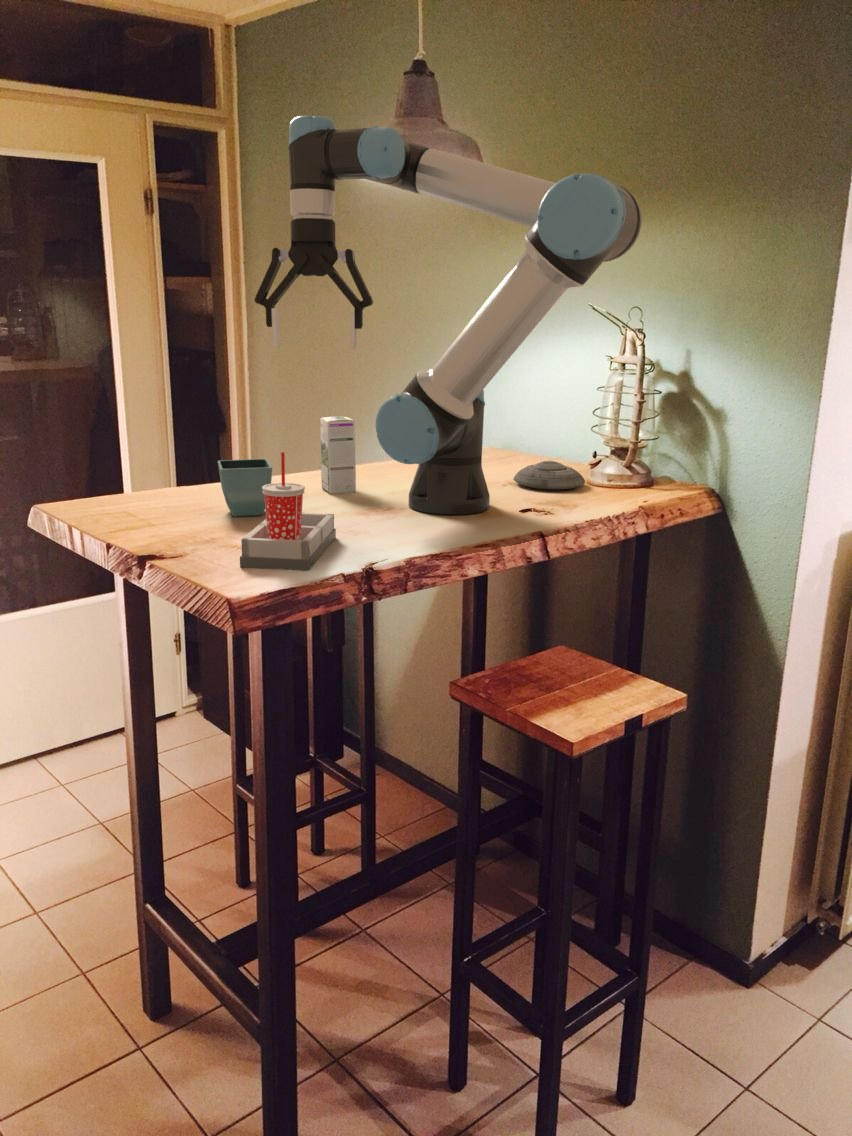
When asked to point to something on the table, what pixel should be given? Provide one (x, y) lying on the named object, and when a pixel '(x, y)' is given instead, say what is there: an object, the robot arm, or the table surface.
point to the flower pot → (245, 485)
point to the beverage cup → (283, 508)
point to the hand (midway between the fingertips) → (314, 347)
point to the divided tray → (289, 545)
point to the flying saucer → (549, 476)
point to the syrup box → (338, 455)
